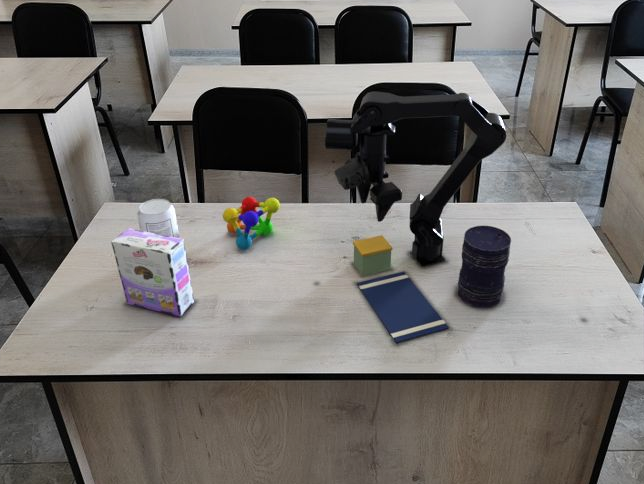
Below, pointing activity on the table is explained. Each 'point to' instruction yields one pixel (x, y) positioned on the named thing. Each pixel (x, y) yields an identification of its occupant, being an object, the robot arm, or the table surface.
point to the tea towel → (401, 307)
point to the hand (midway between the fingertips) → (371, 211)
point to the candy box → (154, 271)
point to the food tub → (372, 255)
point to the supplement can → (158, 218)
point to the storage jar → (483, 266)
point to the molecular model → (250, 220)
